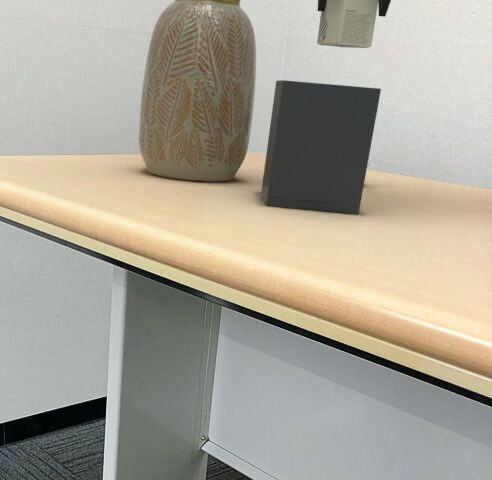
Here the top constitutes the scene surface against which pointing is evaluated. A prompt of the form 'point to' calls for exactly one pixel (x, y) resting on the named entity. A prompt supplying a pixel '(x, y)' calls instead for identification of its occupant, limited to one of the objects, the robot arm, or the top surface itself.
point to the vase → (198, 91)
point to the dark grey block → (319, 146)
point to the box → (347, 23)
